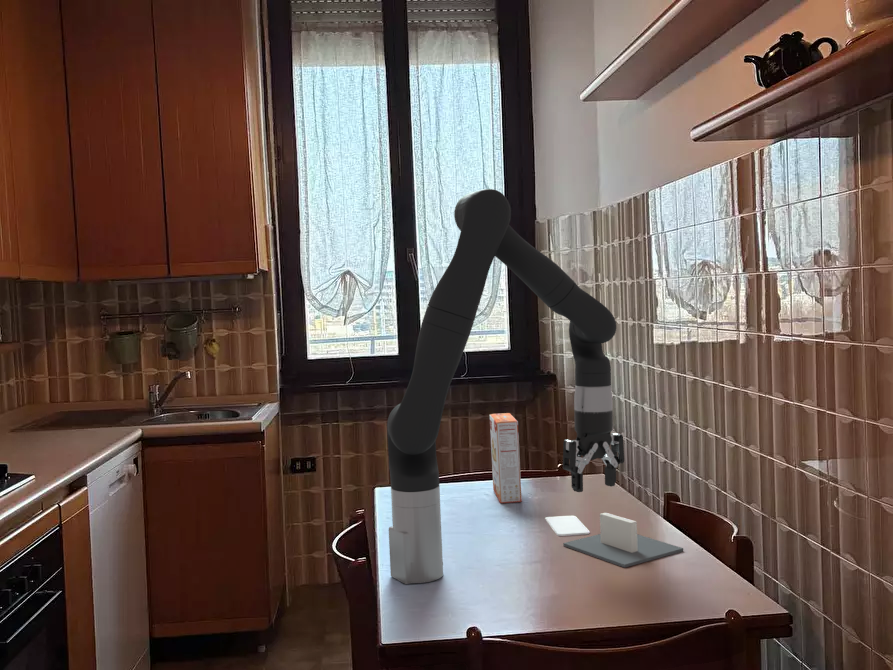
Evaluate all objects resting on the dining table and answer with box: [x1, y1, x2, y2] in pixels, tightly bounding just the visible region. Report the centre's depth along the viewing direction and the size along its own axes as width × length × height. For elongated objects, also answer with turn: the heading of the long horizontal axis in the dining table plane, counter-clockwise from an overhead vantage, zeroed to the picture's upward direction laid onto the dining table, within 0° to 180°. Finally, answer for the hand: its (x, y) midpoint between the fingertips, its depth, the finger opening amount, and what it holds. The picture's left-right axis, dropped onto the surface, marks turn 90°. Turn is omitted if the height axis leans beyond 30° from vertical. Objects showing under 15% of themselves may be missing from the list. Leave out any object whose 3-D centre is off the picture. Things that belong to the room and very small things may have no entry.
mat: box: [562, 533, 684, 569], centre depth 175 cm, size 16×18×1 cm
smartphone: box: [544, 515, 591, 537], centre depth 193 cm, size 7×1×15 cm
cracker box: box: [489, 412, 523, 504], centre depth 222 cm, size 14×6×21 cm, turn 4°
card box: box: [599, 512, 638, 553], centre depth 174 cm, size 2×9×6 cm, turn 32°
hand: (594, 488), depth 172 cm, fingers open, 8 cm apart
